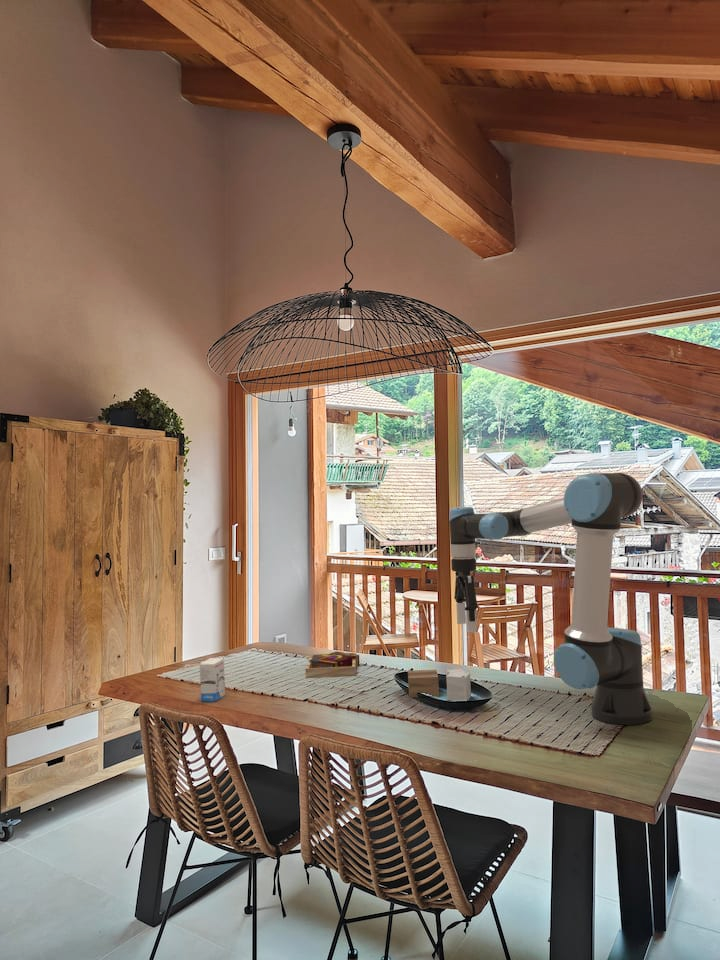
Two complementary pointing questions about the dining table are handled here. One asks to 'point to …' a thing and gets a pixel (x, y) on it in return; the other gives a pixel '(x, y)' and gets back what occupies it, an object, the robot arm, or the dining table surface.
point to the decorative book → (335, 660)
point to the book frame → (329, 669)
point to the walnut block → (423, 682)
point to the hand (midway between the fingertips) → (466, 627)
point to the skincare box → (458, 686)
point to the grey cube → (454, 671)
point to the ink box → (212, 679)
